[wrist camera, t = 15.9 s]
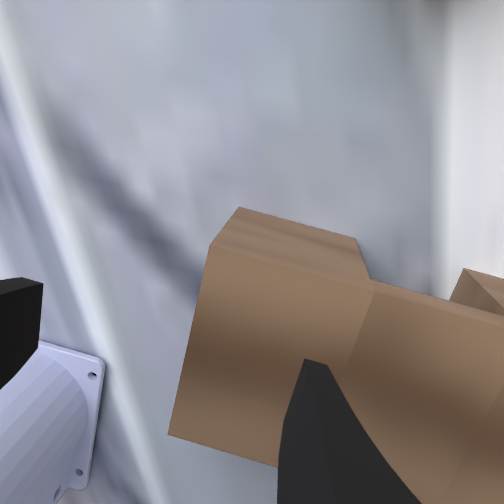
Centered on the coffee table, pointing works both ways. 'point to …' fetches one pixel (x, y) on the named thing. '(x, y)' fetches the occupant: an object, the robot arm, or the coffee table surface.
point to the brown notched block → (346, 357)
